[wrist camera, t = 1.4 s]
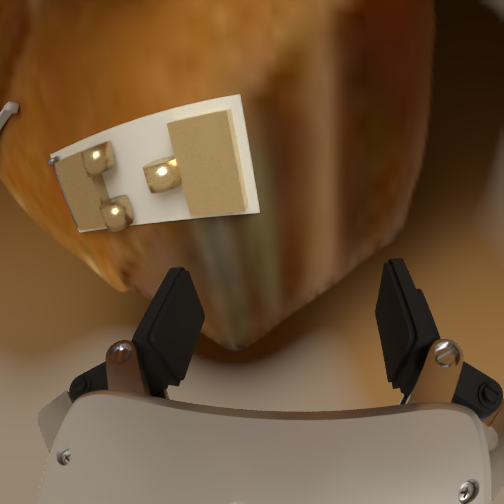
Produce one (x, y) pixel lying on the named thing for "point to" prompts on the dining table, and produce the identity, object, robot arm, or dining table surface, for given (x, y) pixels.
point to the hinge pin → (60, 184)
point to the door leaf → (202, 164)
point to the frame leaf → (93, 189)
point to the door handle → (7, 112)
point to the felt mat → (155, 147)
